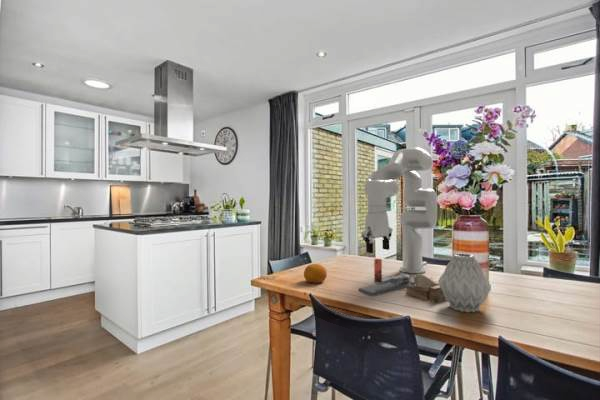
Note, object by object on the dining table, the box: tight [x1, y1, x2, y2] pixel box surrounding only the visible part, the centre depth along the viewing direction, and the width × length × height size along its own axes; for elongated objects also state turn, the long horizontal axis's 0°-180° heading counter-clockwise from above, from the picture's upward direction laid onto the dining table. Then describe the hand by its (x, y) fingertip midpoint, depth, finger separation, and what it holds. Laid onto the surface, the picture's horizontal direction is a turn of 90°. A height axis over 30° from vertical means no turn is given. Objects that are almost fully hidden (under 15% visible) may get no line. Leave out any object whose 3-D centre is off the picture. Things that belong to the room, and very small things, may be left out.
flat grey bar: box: [358, 277, 415, 297], centre depth 134 cm, size 26×8×2 cm, turn 124°
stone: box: [413, 273, 437, 290], centre depth 125 cm, size 10×7×10 cm
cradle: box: [405, 281, 446, 303], centre depth 124 cm, size 13×12×5 cm
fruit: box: [303, 263, 328, 284], centre depth 145 cm, size 10×10×8 cm
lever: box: [373, 258, 411, 285], centre depth 135 cm, size 21×6×11 cm, turn 124°
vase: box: [437, 253, 492, 313], centre depth 109 cm, size 16×16×18 cm
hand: (378, 250), depth 131 cm, fingers open, 9 cm apart
